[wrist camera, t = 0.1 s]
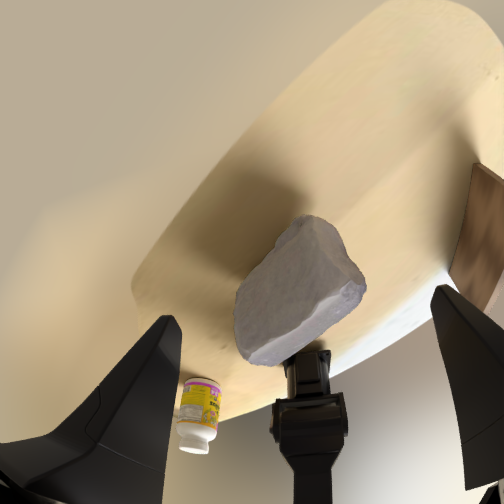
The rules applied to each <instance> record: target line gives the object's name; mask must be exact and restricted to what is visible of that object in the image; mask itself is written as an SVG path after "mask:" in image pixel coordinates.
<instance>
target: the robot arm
mask: <svg viewBox="0 0 504 504" xmlns="http://www.w3.org/2000/svg"><path fill="white" fill-rule="evenodd" d="M430 308H431V312H432V316H433V320H434V324H435V329H436V334H437V339H438V343H439V347H440V350H441V354H442V357H443V361H444V364H445V368H446V372H447V376H448V379H449V383H450V388H451V391H452V396H453V401H454V405H455V410H456V415H457V421H458V426H459V433H460V439H461V444H462V445H461V447H462V456H463V465H464V478H465V490H466V491H467V490H471V489H474V488H477V487H481V486H484V485H487V484H490V483H493V482H496V481H498V482H497V483H496V484H494V485H492V486H491V487H489V488H488V489H487V491H486V493H485V494H484V496H483V498H482V500H481V501H480V503H479V504H504V330H503V329H502V328H501V327H500V326H499V325H497V324H496V323H495V322H494V321H493V320H492V319H491V318H489V317H488V316H487V315H486V314H485V313H483V312H482V311H481V310H480V309H479V308H477V307H476V306H475V305H474V304H472V303H471V302H470V301H469V300H467V299H466V298H465V297H463V296H462V295H461V294H460V293H458V292H457V291H456V290H454V289H453V288H452V287H450V286H449V285H447V284H444V285H439V286H437V287H436V289H435V291H434V294H433V297H432V300H431V304H430ZM181 344H182V331H181V328H180V327H179V325H178V323H177V321H176V320H175V318H174V316H172V315H162V316H160V317H159V318H158V319H157V320H156V322H155V323H154V324H153V325H152V326H151V327H150V328H149V329H148V330H147V331H146V332H145V334H144V335H143V336H142V337H141V338H140V339H139V340H138V341H137V342H136V343H135V345H134V346H133V347H132V348H131V349H130V350H129V351H128V352H127V353H126V355H125V356H124V357H123V358H122V359H121V360H120V361H119V362H118V364H117V365H116V366H115V367H114V368H113V369H112V370H111V371H110V372H109V374H108V375H107V376H106V377H105V378H104V379H103V381H102V382H101V383H100V384H99V386H97V387H96V388H95V389H94V391H93V392H92V393H91V394H90V395H89V396H88V397H87V398H86V399H85V400H84V402H83V403H82V404H81V405H80V406H79V407H78V408H77V409H76V410H75V411H73V412H72V413H71V414H70V415H69V416H68V417H67V418H66V419H65V420H64V421H63V422H62V423H61V424H60V425H59V426H58V427H57V428H56V429H54V430H53V431H52V432H50V433H49V434H46V435H43V436H40V437H35V438H30V439H26V440H21V441H15V442H10V443H0V504H162V496H163V486H164V478H165V474H164V473H165V468H166V460H167V452H168V444H169V438H170V431H171V424H172V417H173V411H174V404H175V398H176V392H177V386H178V380H179V373H180V359H181ZM330 360H331V351H330V350H322V351H313V352H304V353H295V354H293V355H292V356H290V357H289V358H287V359H286V360H284V361H283V365H284V371H285V376H286V378H287V392H288V399H280V398H279V399H276V402H275V403H274V404H272V418H271V424H270V433H271V434H272V435H273V437H274V439H275V443H279V444H280V445H279V446H280V447H279V448H280V452H281V454H282V456H283V459H284V460H285V462H286V463H287V465H288V466H289V467H290V469H291V470H292V472H293V473H294V503H293V504H332V476H331V469H332V467H333V466H334V464H335V462H336V460H337V459H338V457H339V455H340V453H341V450H342V448H343V445H344V437H346V436H348V418H347V412H346V407H345V402H344V397H343V392H338V393H336V394H331V391H330V382H329V371H330Z"/></svg>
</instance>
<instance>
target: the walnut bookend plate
mask: <svg viewBox="0 0 504 504" xmlns="http://www.w3.org/2000/svg"><path fill="white" fill-rule="evenodd" d="M449 276H450V277H451V279H452V280H453V282H454V284H455V285H456V287H457V289H458V291H459V292H460V294H461V295H462V296H463V297H465V298H466V299H467V300H469V301H470V302H471V303H472V304H474V305H475V306H476V307H477V308H479V309H480V310H481V311H482V312H483V313H485V314H486V315H487V316H488V314H489V312H490V311H491V309H492V307H493V305H494V303H495V301H496V299H497V297H498V295H499V293H500V291H501V289H502V287H503V285H504V179H502V178H501V177H500V176H498V175H497V174H495V173H494V172H493V171H491V170H490V169H488V168H487V167H486V166H484V165H483V164H477V163H474V164H473V172H472V179H471V185H470V191H469V197H468V202H467V207H466V212H465V217H464V221H463V225H462V230H461V234H460V237H459V241H458V245H457V248H456V252H455V255H454V259H453V262H452V265H451V268H450V272H449Z"/></svg>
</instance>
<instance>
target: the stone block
mask: <svg viewBox="0 0 504 504" xmlns="http://www.w3.org/2000/svg"><path fill="white" fill-rule="evenodd" d="M366 289H367V285H366V283H365V277H364V276H363V274H362V272H361V271H359V268H358V267H357V265H356V264H355V263H354V262H353V261H352V260H351V259H350V258H349V256H348V255H347V252H346V249H345V246H344V243H343V240H342V239H341V237H340V235H339V233H338V231H337V229H336V228H335V227H334V226H333V225H332V224H330V223H328V222H327V221H325V220H324V219H322V218H319V217H315V216H312V215H301V216H299V217H297V218H295V219H294V220H293V222H292V223H291V225H290V226H289V227H288V228H287V229H286V230H285V231H284V232H282V234H281V235H280V236H279V237H278V239H277V241H276V243H275V247H274V249H272V250H271V251H270V252H269V253H268V254H267V255H266V257H265V258H264V259H263V261H262V262H261V263H260V264H259V265H258V266H256V267H255V268H254V269H253V270H252V271H251V272H250V273H249V274H248V276H247V277H246V278H245V279H244V281H243V282H242V283H241V285H240V286H239V289H238V291H237V293H236V302H235V309H234V312H233V315H234V321H235V324H234V331H235V339H236V343H237V348H238V350H239V353H240V354H241V355H242V357H243V359H245V360H247V361H248V362H249V363H251V364H254V365H264V366H270V367H272V366H275V365H277V364H280V363H281V362H283V361H284V360H286V359H287V358H289V357H290V356H292V355H293V354H295V353H296V352H298V351H299V350H301V349H302V348H304V347H305V346H306V345H307V344H309V343H310V342H312V341H313V340H315V339H316V338H317V337H319V336H320V335H322V334H323V333H324V332H325V331H326V330H327V329H328V328H329V327H331V326H332V325H334V324H336V323H338V322H339V321H340V320H341V319H342V318H344V317H345V316H346V315H348V314H349V313H350V312H351V311H352V310H353V309H355V308H356V307H357V306H358V304H359V303H360V302H361V300H362V296H363V294H364V293H365V292H366Z"/></svg>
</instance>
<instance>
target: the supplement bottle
mask: <svg viewBox="0 0 504 504" xmlns="http://www.w3.org/2000/svg"><path fill="white" fill-rule="evenodd" d="M221 392H222V389H221V387H220V386H219V385H218V384H217V383H216V382H214V381H211V380H208V379H204V378H192V379H189V380H187V381H186V382H185V385H184V389H183V394H182V399H181V404H180V410H179V415H178V420H177V425H176V431H177V433H178V434H179V435H180V436H182V440H180V442H179V448H180V449H181V450H183V451H186V452H190V453H196V454H207V453H208V450H209V447H208V441H210V440H213V439H214V438H215V437H216V433H217V425H218V417H219V409H220V401H221Z"/></svg>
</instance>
